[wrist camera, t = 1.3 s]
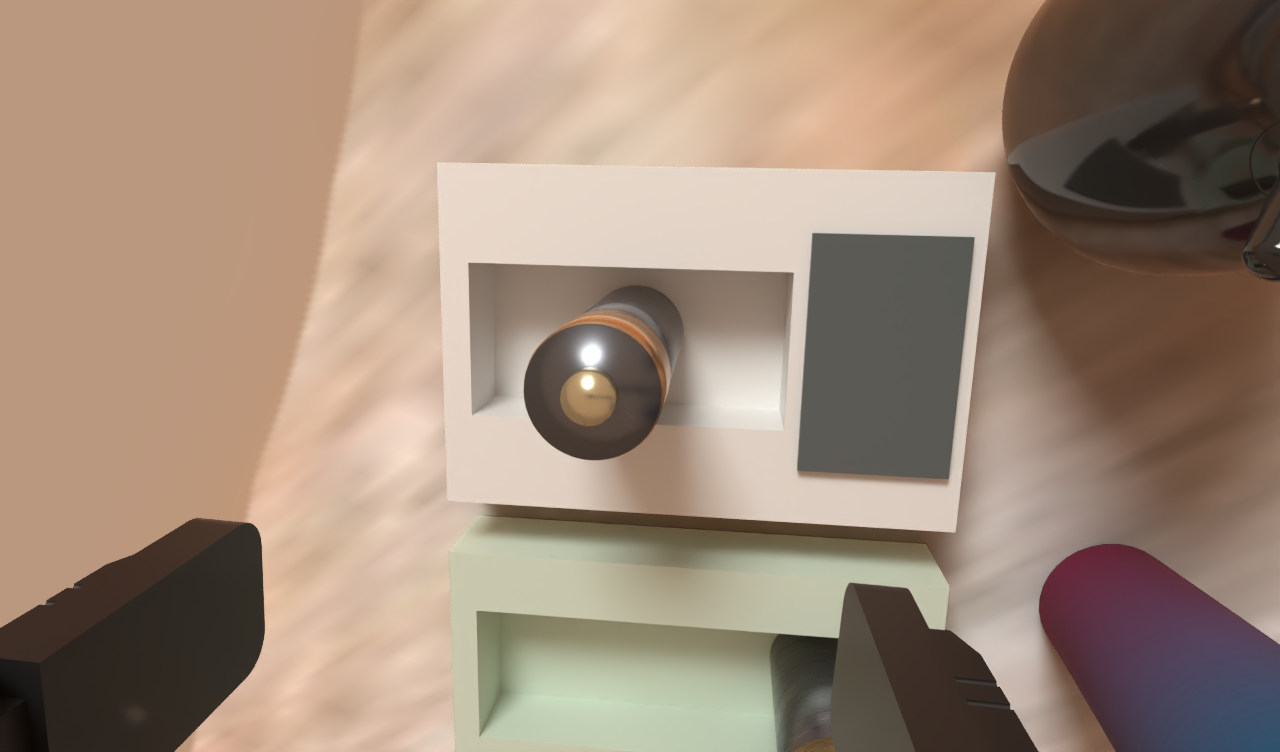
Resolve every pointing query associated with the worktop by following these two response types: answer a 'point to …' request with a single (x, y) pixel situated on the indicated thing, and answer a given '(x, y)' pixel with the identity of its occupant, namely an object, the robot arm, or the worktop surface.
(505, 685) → the trough rack
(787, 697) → the cell
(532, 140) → the worktop surface
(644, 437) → the cell
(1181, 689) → the cup
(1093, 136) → the black tapered dome
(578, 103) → the worktop surface
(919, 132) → the worktop surface
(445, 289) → the battery tester
